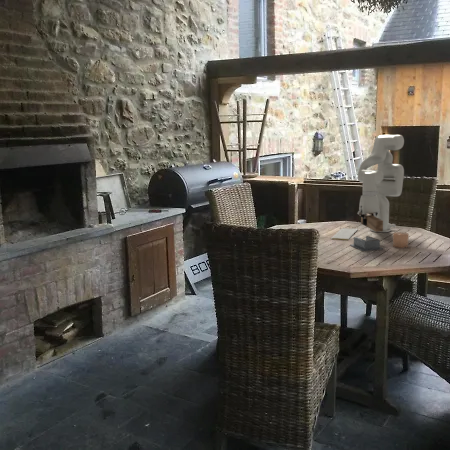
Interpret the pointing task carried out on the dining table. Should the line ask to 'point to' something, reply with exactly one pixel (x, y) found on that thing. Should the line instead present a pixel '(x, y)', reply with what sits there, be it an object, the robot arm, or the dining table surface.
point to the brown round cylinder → (400, 239)
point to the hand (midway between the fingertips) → (368, 224)
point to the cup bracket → (366, 244)
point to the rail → (373, 223)
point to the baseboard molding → (344, 233)
